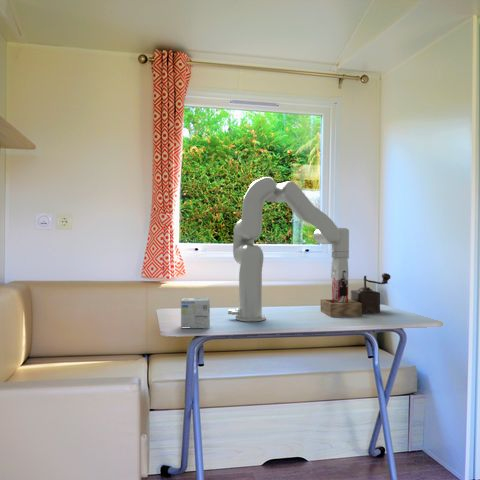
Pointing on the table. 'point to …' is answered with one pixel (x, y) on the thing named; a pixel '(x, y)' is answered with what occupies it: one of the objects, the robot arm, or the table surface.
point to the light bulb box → (195, 312)
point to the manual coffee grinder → (369, 296)
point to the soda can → (338, 292)
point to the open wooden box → (341, 308)
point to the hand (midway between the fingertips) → (340, 294)
